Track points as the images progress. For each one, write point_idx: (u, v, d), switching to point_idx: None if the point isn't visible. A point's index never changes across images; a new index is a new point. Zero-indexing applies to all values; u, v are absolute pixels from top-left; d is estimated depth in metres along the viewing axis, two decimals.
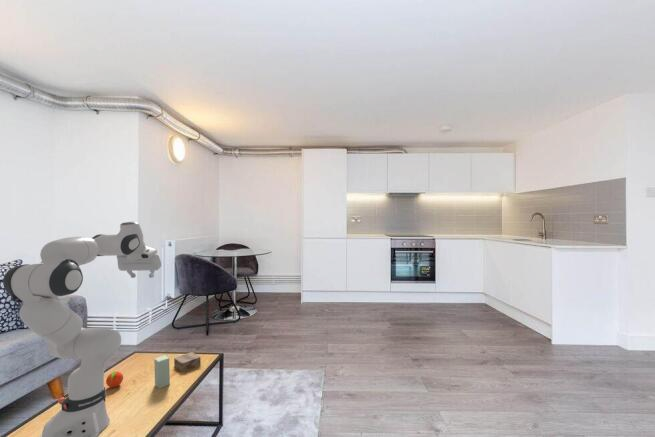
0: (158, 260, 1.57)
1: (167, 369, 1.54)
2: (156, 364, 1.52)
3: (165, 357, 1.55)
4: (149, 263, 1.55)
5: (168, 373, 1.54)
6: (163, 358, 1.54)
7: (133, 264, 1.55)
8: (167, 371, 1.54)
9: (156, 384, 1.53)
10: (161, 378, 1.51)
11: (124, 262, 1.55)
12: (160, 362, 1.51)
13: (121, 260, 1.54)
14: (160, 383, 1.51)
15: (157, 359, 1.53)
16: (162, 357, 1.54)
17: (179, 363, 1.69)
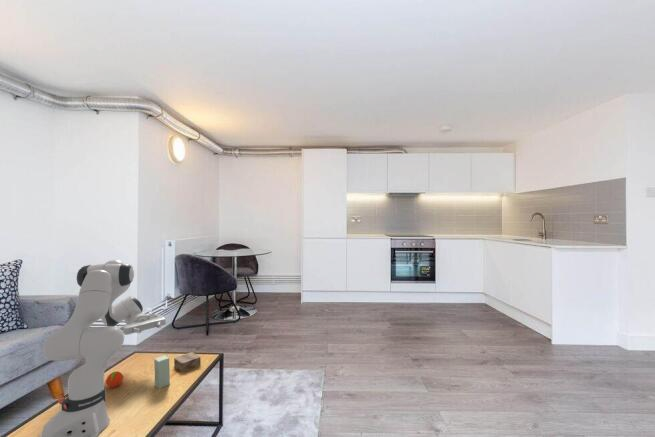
0: None
1: (167, 369, 1.54)
2: (156, 364, 1.52)
3: (165, 357, 1.55)
4: (156, 318, 1.74)
5: (168, 373, 1.54)
6: (163, 358, 1.54)
7: (140, 322, 1.68)
8: (167, 371, 1.54)
9: (156, 384, 1.53)
10: (161, 378, 1.51)
11: (130, 324, 1.65)
12: (160, 362, 1.51)
13: (127, 324, 1.66)
14: (160, 383, 1.51)
15: (157, 359, 1.53)
16: (162, 357, 1.54)
17: (179, 363, 1.69)
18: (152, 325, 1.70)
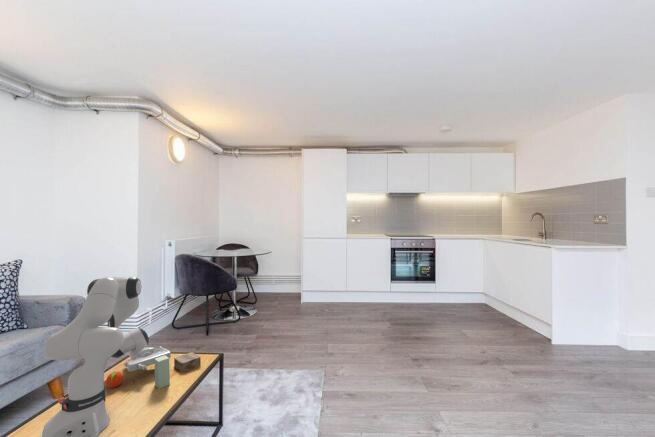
0: None
1: (167, 369, 1.54)
2: (156, 364, 1.52)
3: (165, 357, 1.55)
4: (160, 352, 1.70)
5: (168, 373, 1.54)
6: (163, 358, 1.54)
7: (144, 357, 1.64)
8: (167, 371, 1.54)
9: (156, 384, 1.53)
10: (161, 378, 1.51)
11: (134, 360, 1.61)
12: (160, 362, 1.51)
13: (131, 359, 1.61)
14: (160, 383, 1.51)
15: (157, 359, 1.53)
16: (162, 357, 1.54)
17: (179, 363, 1.69)
18: None
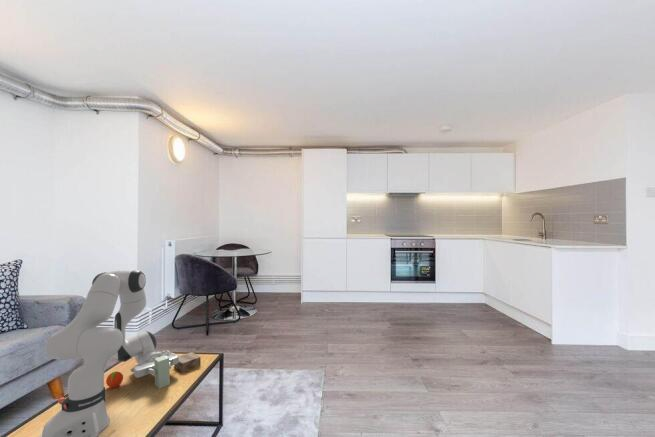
0: None
1: (167, 369, 1.54)
2: (156, 364, 1.52)
3: (165, 357, 1.55)
4: (168, 357, 1.64)
5: (168, 373, 1.54)
6: (163, 358, 1.54)
7: (152, 362, 1.57)
8: (167, 371, 1.54)
9: (156, 384, 1.53)
10: (161, 378, 1.51)
11: (141, 365, 1.55)
12: (160, 362, 1.51)
13: (138, 365, 1.55)
14: (160, 383, 1.51)
15: (157, 359, 1.53)
16: (162, 357, 1.54)
17: (179, 363, 1.69)
18: None
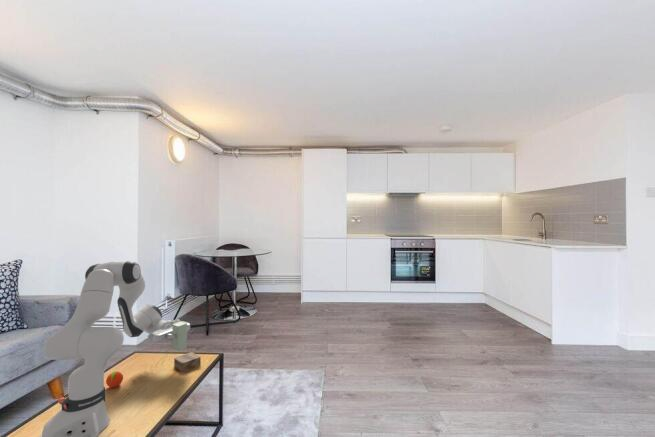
0: None
1: (185, 333, 1.67)
2: (174, 329, 1.65)
3: (182, 323, 1.68)
4: None
5: (186, 337, 1.68)
6: (181, 323, 1.67)
7: (167, 329, 1.69)
8: (185, 335, 1.67)
9: (174, 347, 1.65)
10: (180, 341, 1.65)
11: (158, 332, 1.65)
12: (180, 327, 1.64)
13: (155, 331, 1.65)
14: (180, 345, 1.64)
15: (175, 324, 1.65)
16: (180, 323, 1.67)
17: (179, 363, 1.69)
18: None
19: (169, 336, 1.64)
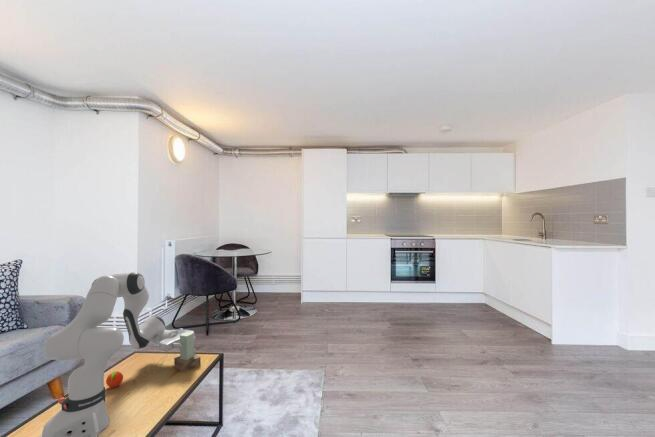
0: None
1: (192, 343, 1.74)
2: (182, 339, 1.71)
3: (189, 333, 1.75)
4: None
5: (193, 346, 1.74)
6: (188, 334, 1.73)
7: (174, 338, 1.74)
8: (192, 344, 1.74)
9: (182, 357, 1.71)
10: (188, 351, 1.71)
11: (166, 341, 1.71)
12: (188, 337, 1.71)
13: (163, 341, 1.70)
14: (188, 355, 1.71)
15: (183, 335, 1.72)
16: (187, 333, 1.74)
17: (179, 363, 1.69)
18: None
19: (175, 345, 1.68)
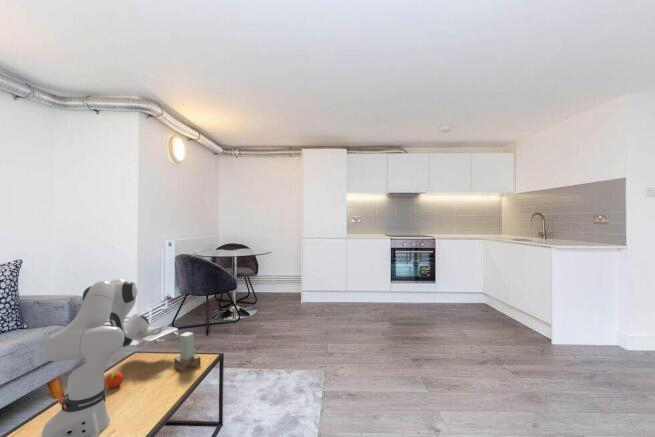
0: None
1: (192, 343, 1.74)
2: (182, 339, 1.71)
3: (189, 333, 1.75)
4: (169, 330, 1.87)
5: (193, 346, 1.74)
6: (188, 334, 1.73)
7: (157, 335, 1.79)
8: (192, 344, 1.74)
9: (182, 357, 1.71)
10: (188, 351, 1.71)
11: (149, 337, 1.75)
12: (188, 337, 1.71)
13: (146, 337, 1.75)
14: (188, 355, 1.71)
15: (183, 335, 1.72)
16: (187, 333, 1.74)
17: (179, 363, 1.69)
18: (168, 336, 1.83)
19: (158, 342, 1.73)
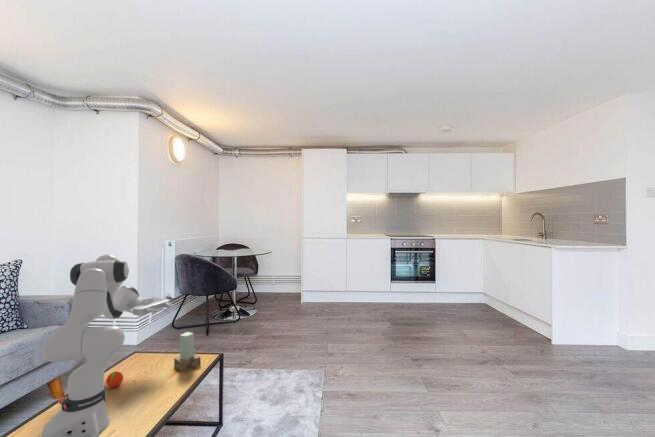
0: None
1: (192, 343, 1.74)
2: (182, 339, 1.71)
3: (189, 333, 1.75)
4: (160, 301, 1.82)
5: (193, 346, 1.74)
6: (188, 334, 1.73)
7: (148, 304, 1.74)
8: (192, 344, 1.74)
9: (182, 357, 1.71)
10: (188, 351, 1.71)
11: (139, 307, 1.71)
12: (188, 337, 1.71)
13: (136, 306, 1.71)
14: (188, 355, 1.71)
15: (183, 335, 1.72)
16: (187, 333, 1.74)
17: (179, 363, 1.69)
18: (160, 306, 1.78)
19: (148, 311, 1.69)
